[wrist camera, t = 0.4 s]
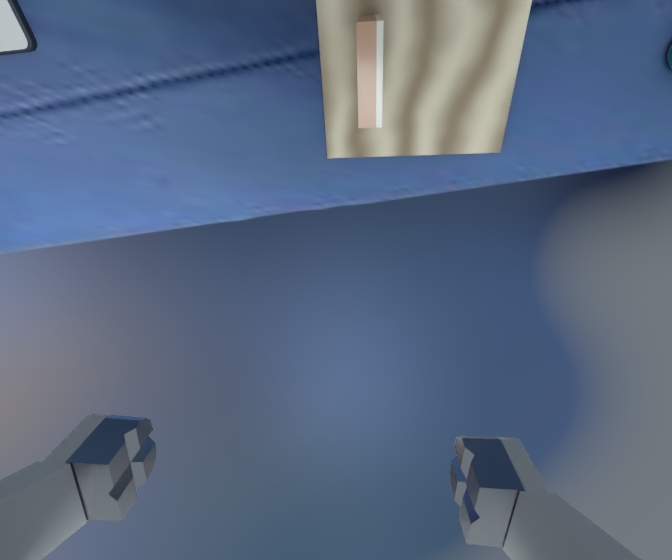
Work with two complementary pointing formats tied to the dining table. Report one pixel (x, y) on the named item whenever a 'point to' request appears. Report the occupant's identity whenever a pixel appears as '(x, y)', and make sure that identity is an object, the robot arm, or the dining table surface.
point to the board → (423, 75)
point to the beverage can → (670, 56)
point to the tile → (370, 70)
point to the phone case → (14, 29)
